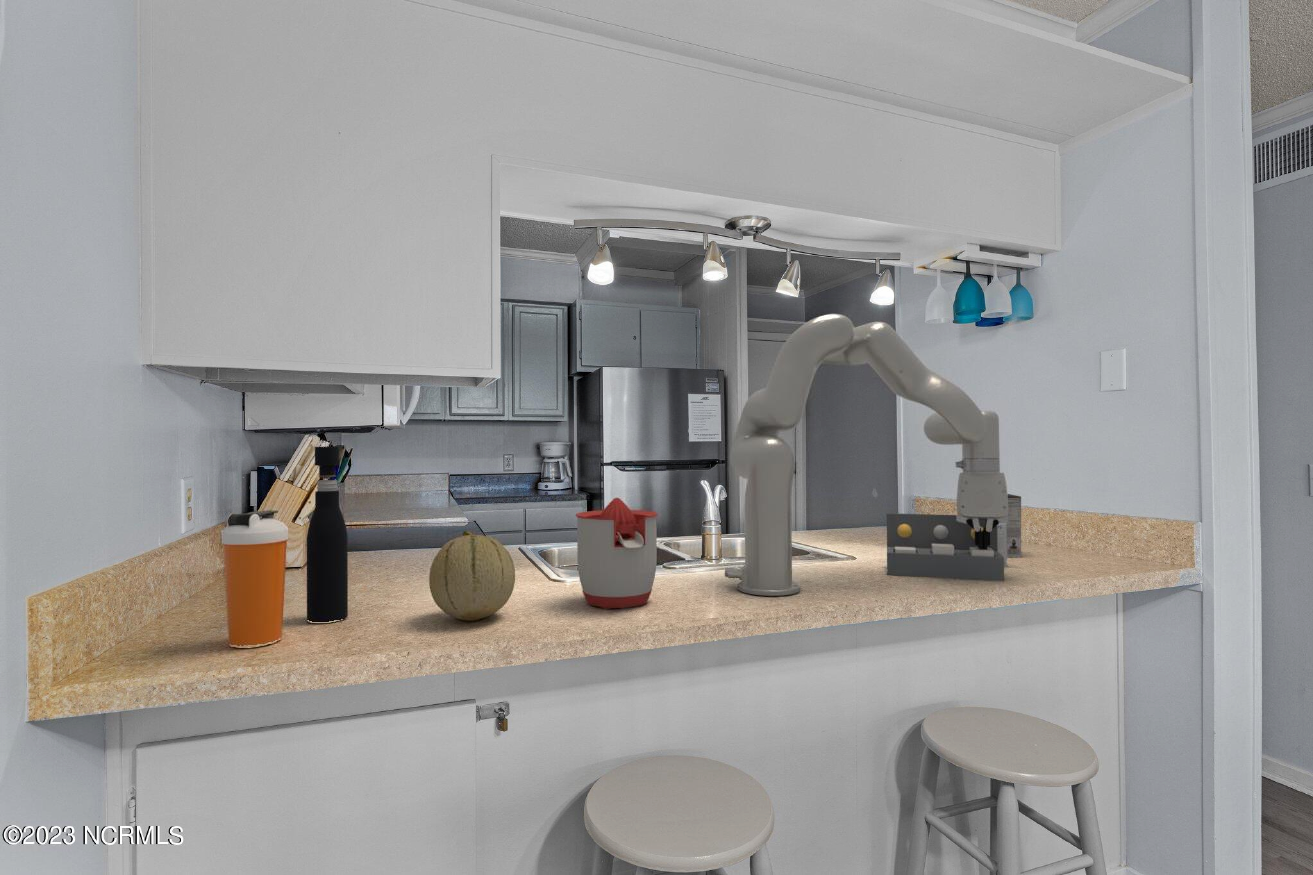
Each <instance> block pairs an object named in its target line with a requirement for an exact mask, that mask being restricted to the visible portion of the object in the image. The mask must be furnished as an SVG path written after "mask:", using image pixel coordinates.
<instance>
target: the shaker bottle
mask: <svg viewBox="0 0 1313 875" xmlns="http://www.w3.org/2000/svg"><path fill="white" fill-rule="evenodd" d="M276 513H279V510H272V509H271V510H268V509H267V510H257V511H251V512H247V513H231V514H229V516H228V517H227V519H226V522H227V523H226V527H225V528H224V529H222V531H221V545H222V546H223V557H224V558H223V560H224V577H225V578H224V580H225V593H226V594H225V596H226V597H225V598H226V613H227V614H226V616H227V632H228V633H227V634H228V635H227V636H228V645H229V644H231V645H237V646H240V645H241V646H244V645H257V644H265V643H268V642H273V641H275V640H278V639H279V638H281V637H282V638H283V628H284V627H283V624H284V622H283V621H284V604H285V603H284V601H285V588H286V587H285V586H286V585H285V584H286V566H287V565H286V563H287V542H288V541H289V540H290V539H289V527H288V526H287V525H286V524H285V523H284V522H283V521H281V520H278V519H274V518H275V514H276Z"/></svg>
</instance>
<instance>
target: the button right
mask: <svg viewBox="0 0 1313 875" xmlns="http://www.w3.org/2000/svg"><path fill="white" fill-rule="evenodd" d="M970 556H988V557H994V551H993V550H992V548H987V550H985V549H982V550H979V548H978V547H970Z"/></svg>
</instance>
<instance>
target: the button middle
mask: <svg viewBox="0 0 1313 875" xmlns="http://www.w3.org/2000/svg"><path fill="white" fill-rule="evenodd" d="M932 554H941V555H954V546H953V545H952V544H932Z"/></svg>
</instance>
